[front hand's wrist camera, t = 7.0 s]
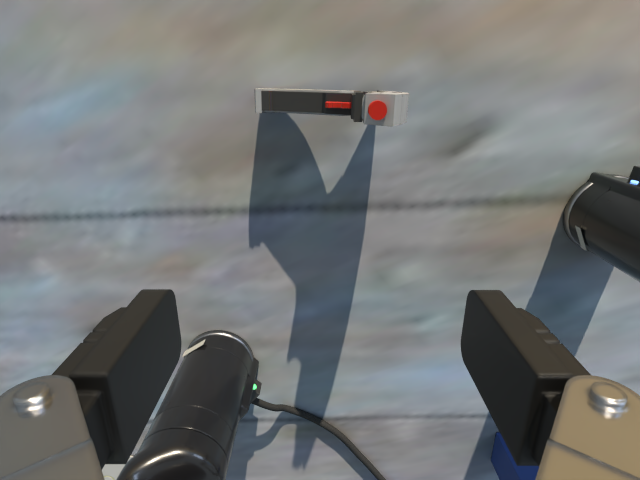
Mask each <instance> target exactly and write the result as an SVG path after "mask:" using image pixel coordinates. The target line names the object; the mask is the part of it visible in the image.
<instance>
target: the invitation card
mask: <svg viewBox="0 0 640 480" xmlns="http://www.w3.org/2000/svg"><path fill="white" fill-rule="evenodd" d="M132 457H133V456H130V458H129V459H128V461H129V460H130V459H131V458H132ZM128 461H127V462H128ZM124 466H125V464H105V465H104V467H103V469H102V473H103V476H104V479H105V480H116V479H117V477H118V476H119V474H120V472H121V470H122V469H123V467H124Z"/></svg>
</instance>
